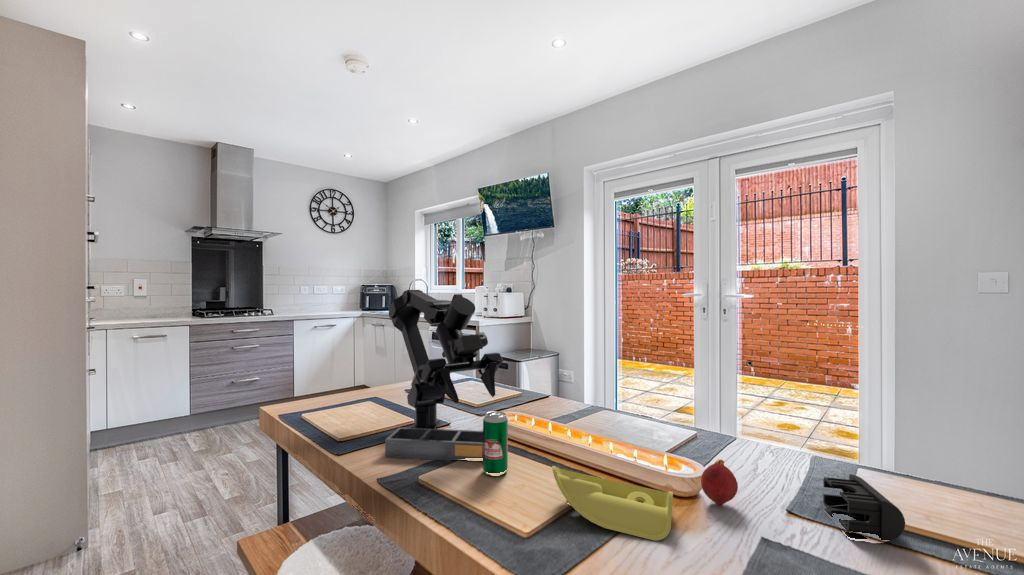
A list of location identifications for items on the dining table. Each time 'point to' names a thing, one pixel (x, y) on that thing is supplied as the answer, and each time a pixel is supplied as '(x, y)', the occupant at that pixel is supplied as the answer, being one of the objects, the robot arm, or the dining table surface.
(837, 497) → the end cap
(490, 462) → the soda can
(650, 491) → the plastic component
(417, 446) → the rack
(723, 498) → the onion
